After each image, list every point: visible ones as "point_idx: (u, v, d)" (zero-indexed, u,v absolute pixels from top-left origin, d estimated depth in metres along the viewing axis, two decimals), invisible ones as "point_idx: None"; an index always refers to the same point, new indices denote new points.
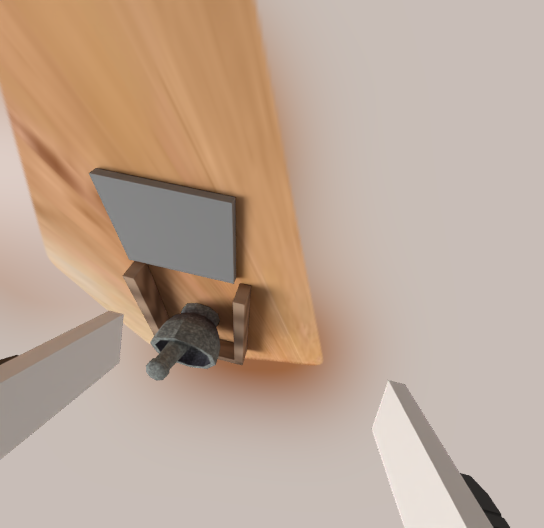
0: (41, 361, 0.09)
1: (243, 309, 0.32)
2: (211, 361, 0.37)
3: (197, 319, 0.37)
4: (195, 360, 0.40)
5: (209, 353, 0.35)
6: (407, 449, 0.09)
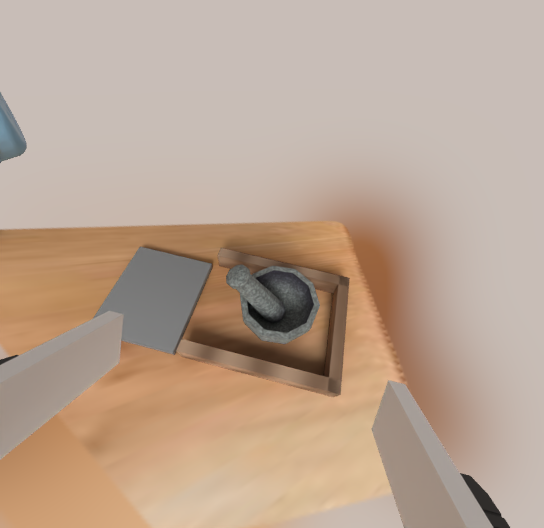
0: (41, 361, 0.09)
1: (227, 250, 0.39)
2: (287, 270, 0.33)
3: None
4: (311, 301, 0.32)
5: (268, 267, 0.34)
6: (407, 450, 0.09)
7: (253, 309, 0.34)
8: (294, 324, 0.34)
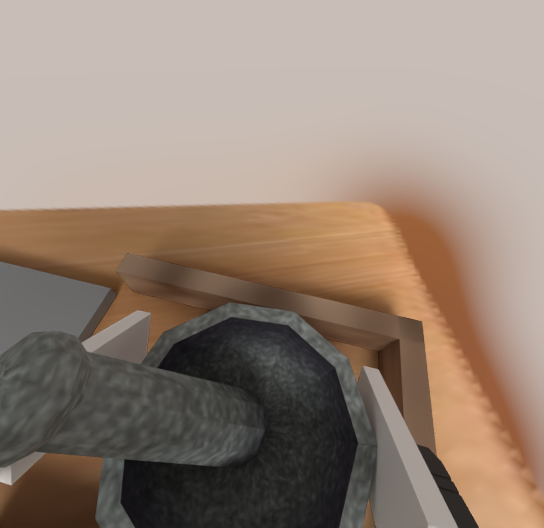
0: None
1: (142, 258, 0.17)
2: (272, 317, 0.12)
3: None
4: (344, 419, 0.10)
5: (219, 308, 0.12)
6: (374, 425, 0.10)
7: None
8: (293, 466, 0.12)
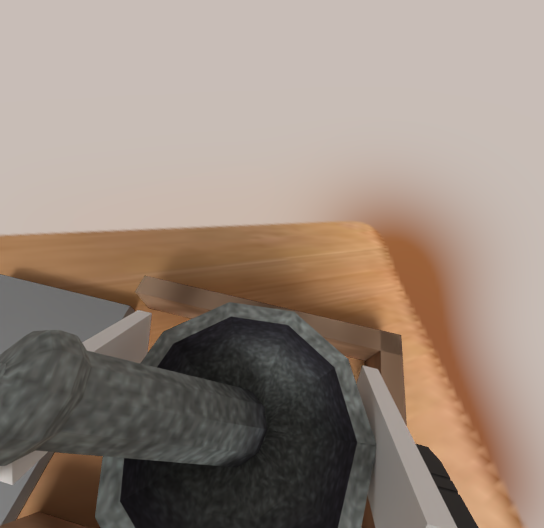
0: None
1: (157, 280, 0.20)
2: (271, 317, 0.12)
3: None
4: (343, 419, 0.10)
5: (218, 308, 0.12)
6: (373, 425, 0.10)
7: None
8: (292, 466, 0.12)
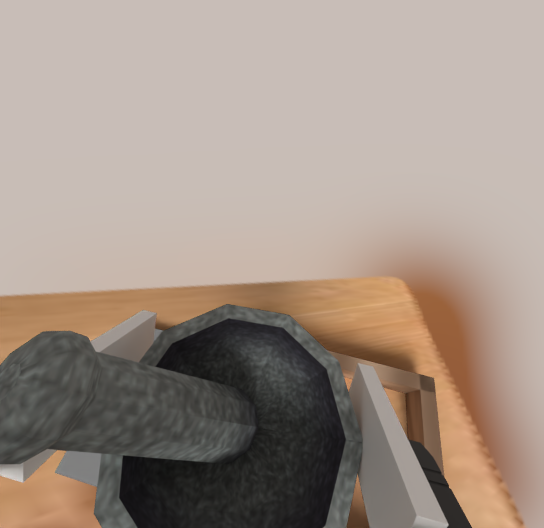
0: None
1: None
2: (267, 320, 0.12)
3: None
4: (333, 417, 0.11)
5: (216, 309, 0.12)
6: (367, 421, 0.10)
7: None
8: (281, 462, 0.13)
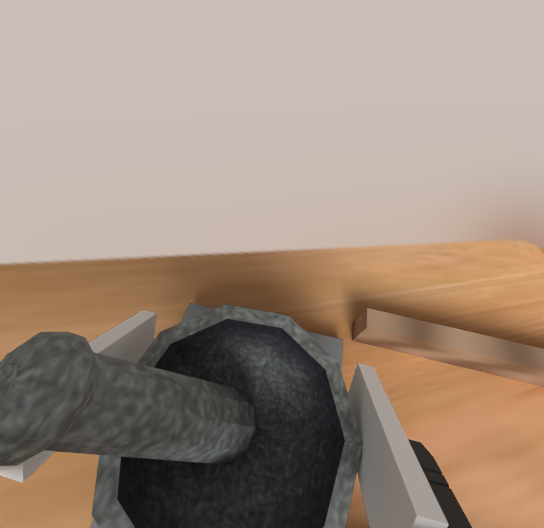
0: None
1: (383, 313, 0.18)
2: (266, 320, 0.12)
3: None
4: (332, 418, 0.11)
5: (215, 310, 0.12)
6: (367, 421, 0.10)
7: None
8: (280, 463, 0.13)
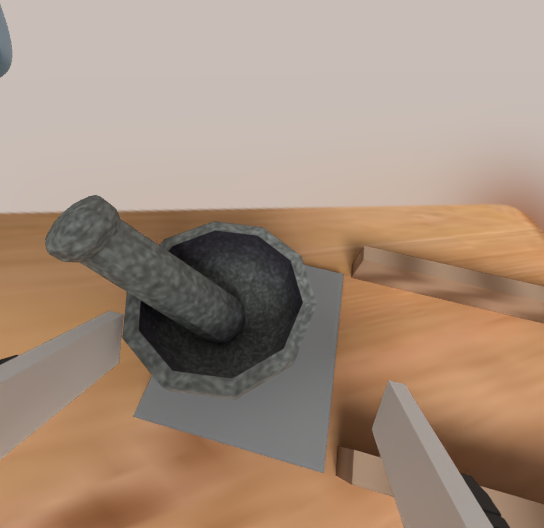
0: (41, 361, 0.09)
1: (377, 249, 0.22)
2: (245, 230, 0.16)
3: None
4: (297, 295, 0.14)
5: None
6: (408, 449, 0.09)
7: None
8: (264, 345, 0.16)
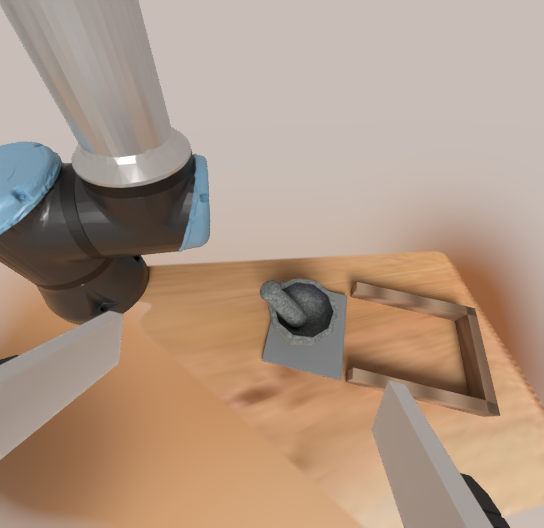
0: (41, 361, 0.09)
1: (363, 283, 0.44)
2: (308, 282, 0.38)
3: None
4: (330, 308, 0.37)
5: (291, 280, 0.38)
6: (407, 449, 0.09)
7: (278, 317, 0.39)
8: (315, 329, 0.39)
